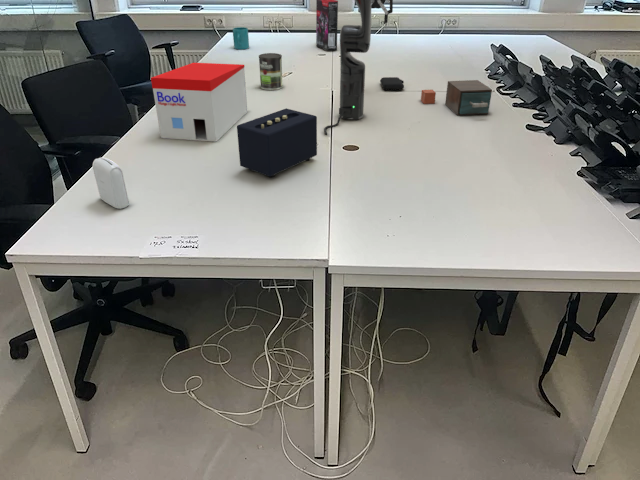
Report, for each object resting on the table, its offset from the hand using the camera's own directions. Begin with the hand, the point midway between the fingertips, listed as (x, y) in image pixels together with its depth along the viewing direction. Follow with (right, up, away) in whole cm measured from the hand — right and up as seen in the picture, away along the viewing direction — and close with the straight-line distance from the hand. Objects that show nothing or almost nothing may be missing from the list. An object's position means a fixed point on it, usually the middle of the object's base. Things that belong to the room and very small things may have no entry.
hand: (374, 23), depth 223 cm
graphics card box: (-19, +23, +94) cm, 99 cm away
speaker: (-36, -68, -58) cm, 96 cm away
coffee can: (-45, -21, +20) cm, 54 cm away
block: (+22, -33, -1) cm, 40 cm away
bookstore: (-65, -48, -24) cm, 85 cm away
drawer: (+36, -40, -14) cm, 55 cm away
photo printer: (-79, -81, -80) cm, 138 cm away
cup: (-70, +24, +95) cm, 121 cm away
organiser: (+36, -38, -10) cm, 53 cm away
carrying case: (+10, -21, +20) cm, 31 cm away
